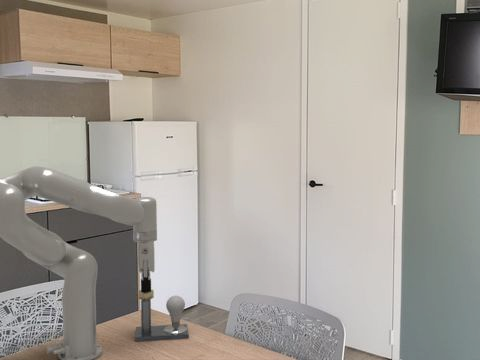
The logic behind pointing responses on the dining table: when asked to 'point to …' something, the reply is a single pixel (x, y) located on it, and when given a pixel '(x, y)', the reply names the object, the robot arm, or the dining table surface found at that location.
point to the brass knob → (145, 295)
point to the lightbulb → (175, 309)
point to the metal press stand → (157, 327)
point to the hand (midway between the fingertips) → (146, 291)
